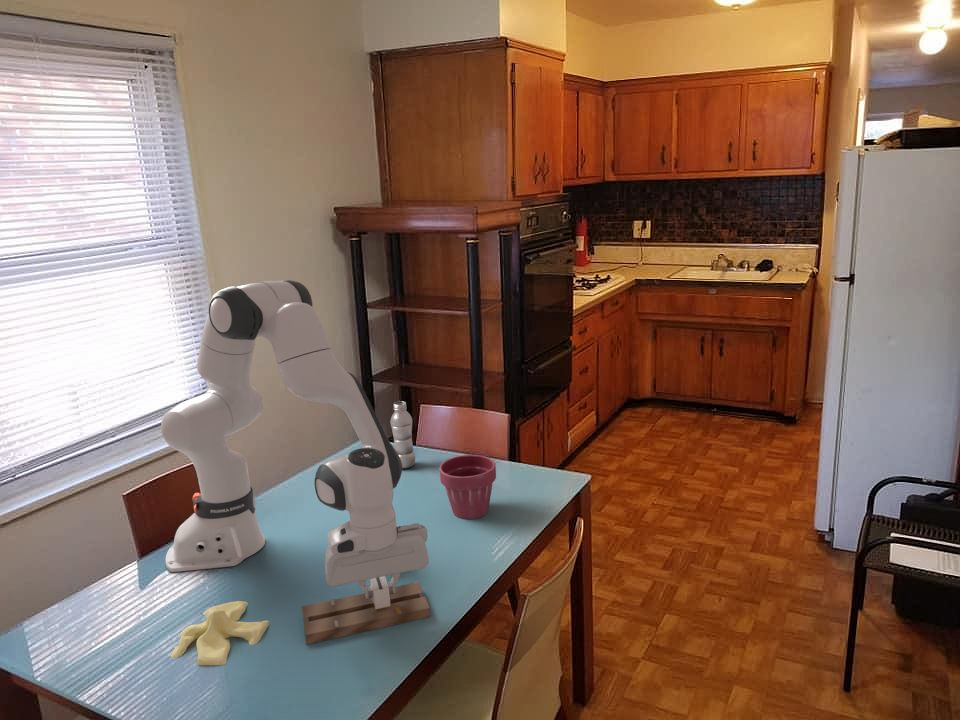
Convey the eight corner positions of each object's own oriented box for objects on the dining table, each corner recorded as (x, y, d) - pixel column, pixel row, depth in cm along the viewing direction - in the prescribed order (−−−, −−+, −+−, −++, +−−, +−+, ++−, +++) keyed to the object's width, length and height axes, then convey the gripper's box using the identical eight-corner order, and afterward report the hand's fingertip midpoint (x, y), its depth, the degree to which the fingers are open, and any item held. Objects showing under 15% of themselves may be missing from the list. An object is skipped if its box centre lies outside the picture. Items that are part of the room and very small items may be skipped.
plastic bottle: (404, 460, 222) (399, 398, 217) (420, 465, 218) (415, 401, 213) (389, 467, 217) (383, 404, 212) (405, 472, 213) (399, 408, 208)
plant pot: (465, 530, 177) (462, 481, 174) (431, 511, 188) (428, 465, 184) (509, 510, 186) (507, 464, 182) (474, 494, 196) (472, 450, 193)
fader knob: (376, 616, 143) (373, 590, 141) (372, 602, 147) (369, 577, 146) (391, 613, 143) (388, 587, 142) (386, 599, 148) (384, 574, 147)
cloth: (232, 597, 155) (228, 571, 153) (290, 624, 144) (286, 597, 143) (133, 655, 137) (127, 627, 136) (190, 691, 127) (185, 660, 125)
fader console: (306, 644, 137) (304, 634, 136) (303, 615, 146) (301, 605, 146) (430, 616, 143) (429, 606, 143) (419, 590, 153) (418, 580, 152)
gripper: (423, 514, 147) (427, 575, 150) (320, 533, 141) (327, 596, 145) (429, 528, 141) (434, 591, 144) (322, 548, 135) (330, 613, 139)
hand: (380, 594), depth 144 cm, fingers closed on fader knob, 3 cm apart
